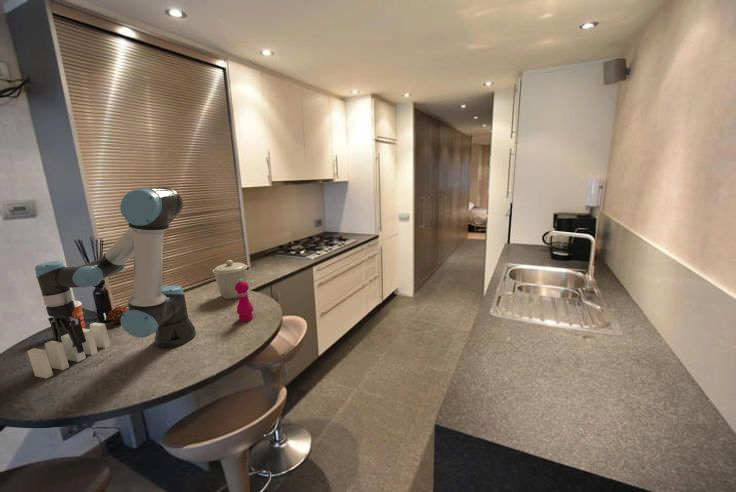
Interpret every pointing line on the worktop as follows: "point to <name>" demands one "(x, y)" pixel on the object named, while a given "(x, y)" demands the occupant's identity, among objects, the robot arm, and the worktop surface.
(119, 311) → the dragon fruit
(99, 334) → the domino
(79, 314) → the paper cup
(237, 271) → the canister
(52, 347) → the domino
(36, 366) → the domino
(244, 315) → the pepper mill
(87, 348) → the domino
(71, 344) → the domino
